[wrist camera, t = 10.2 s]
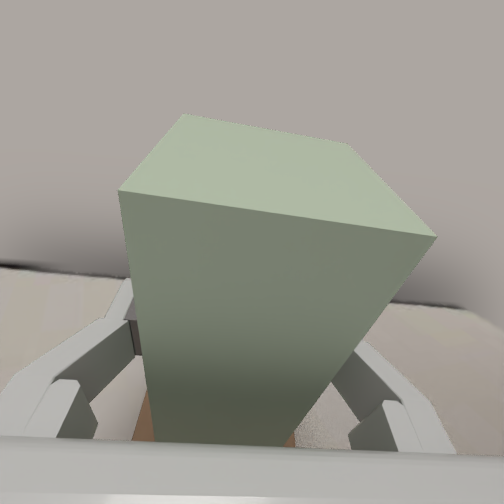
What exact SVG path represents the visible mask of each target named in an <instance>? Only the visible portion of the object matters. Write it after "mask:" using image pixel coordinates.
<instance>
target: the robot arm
mask: <svg viewBox="0 0 504 504" xmlns="http://www.w3.org/2000/svg"><path fill="white" fill-rule="evenodd" d="M135 355H139V356H142V350H141V343H140V337H139V330H138V323H137V316H136V310H135V303H134V296H133V289H132V283H131V278H126V279H125V280H124V281H123V283H122V284H121V286H120V288H119V290H118V292H117V294H116V296H115V298H114V300H113V302H112V304H111V306H110V308H109V310H108V311H107V313H106V315H105V317H104V318H98V319H96V320H95V321H93V322H92V323H90V324H89V325H87V326H86V327H84V328H83V329H81V330H80V331H78V332H77V333H75V334H74V335H72V336H71V337H69V338H68V339H66V340H65V341H63V342H62V343H60V344H59V345H57V346H56V347H54V348H53V349H51V350H50V351H48V352H47V353H45V354H44V355H42V356H41V357H39V358H38V359H36V360H35V361H33V362H32V363H30V364H29V365H27V366H26V367H24V368H23V369H21V370H20V371H18V372H17V373H15V374H14V375H13V377H12V378H11V380H10V381H9V382H8V384H7V385H6V387H5V388H4V390H3V391H2V392H1V394H0V504H504V456H494V455H469V454H457V453H456V451H455V449H454V447H453V445H452V443H451V441H450V439H449V437H448V435H447V433H446V431H445V429H444V427H443V425H442V423H441V421H440V419H439V417H438V415H437V413H436V411H435V409H434V407H433V405H432V403H431V402H430V401H429V400H428V399H427V398H426V397H425V396H424V395H423V394H422V393H421V392H420V391H419V390H418V389H417V388H415V387H414V386H413V385H412V384H411V383H410V382H409V381H408V380H407V379H406V378H405V377H404V376H403V375H402V374H401V373H400V372H399V371H398V370H397V369H396V368H394V367H393V366H392V365H391V364H390V363H389V362H388V361H387V360H386V359H385V358H384V357H383V356H382V355H381V354H380V353H379V352H378V351H377V350H376V349H375V348H373V347H372V346H371V345H370V344H369V343H368V342H364V341H363V339H362V340H361V341H360V343H359V344H358V345H357V347H356V348H355V349H354V351H353V352H352V354H351V355H350V356H349V358H348V359H347V360H346V362H345V363H344V364H343V366H342V367H341V368H340V370H339V371H338V372H337V374H336V375H335V377H334V378H333V379H332V381H331V382H332V383H333V385H334V386H335V388H336V389H337V390H338V392H339V393H340V395H341V396H342V397H343V399H344V400H345V402H346V403H347V404H348V406H349V407H350V409H351V410H352V412H353V413H354V414H355V416H356V417H357V419H358V420H359V421H360V423H359V424H358V425H357V426H356V427H355V428H353V429H352V430H351V431H350V433H349V434H348V437H349V441H350V445H351V449H352V450H346V449H322V448H297V447H273V446H248V445H224V444H199V443H175V442H150V441H125V440H100V439H93V436H94V433H95V431H96V428H97V425H98V422H97V420H96V418H95V415H94V413H93V411H92V409H91V407H90V405H89V403H90V402H91V401H92V400H93V399H94V398H95V397H96V396H97V395H98V394H99V393H100V392H101V391H102V390H103V389H104V388H105V387H106V386H107V385H108V384H109V383H110V382H111V381H112V380H113V379H114V378H115V377H116V376H117V375H118V374H119V373H120V372H121V371H122V370H123V369H124V368H125V367H126V366H127V365H128V364H129V363H130V362H131V361H132V360H133V359H134V358H135Z"/></svg>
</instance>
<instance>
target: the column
mask: <svg viewBox="0 0 504 504" xmlns="http://www.w3.org/2000/svg"><path fill="white" fill-rule="evenodd" d="M118 195H119V202H120V208H121V215H122V222H123V228H124V235H125V242H126V249H127V255H128V262H129V269H130V276H131V283H132V289H133V296H134V303H135V310H136V316H137V323H138V330H139V337H140V343H141V350H142V357H143V364H144V370H145V377H146V384H147V391H148V398H149V404H150V411H151V418H152V425H153V431H154V438H155V442H175V443H199V444H224V445H248V446H273V447H283V446H284V444H285V443H286V442H287V440H288V439H289V437H290V436H291V435H292V433H293V432H294V431H295V429H296V428H297V427H298V425H299V424H300V423H301V421H302V420H303V419H304V417H305V416H306V414H307V413H308V412H309V410H310V409H311V408H312V406H313V405H314V404H315V402H316V401H317V400H318V398H319V397H320V396H321V394H322V393H323V391H324V390H325V389H326V387H327V386H328V385H329V383H330V382H331V381H332V379H333V378H334V377H335V375H336V374H337V372H338V371H339V370H340V368H341V367H342V366H343V364H344V363H345V362H346V360H347V359H348V358H349V356H350V355H351V354H352V352H353V351H354V349H355V348H356V347H357V345H358V344H359V343H360V341H361V340H362V339H363V337H364V336H365V335H366V333H367V332H368V331H369V329H370V328H371V326H372V325H373V324H374V322H375V321H376V320H377V318H378V317H379V316H380V314H381V313H382V312H383V310H384V309H385V308H386V306H387V305H388V303H389V302H390V301H391V299H392V298H393V297H394V295H395V294H396V293H397V291H398V290H399V289H400V287H401V286H402V284H403V283H404V282H405V280H406V279H407V278H408V276H409V275H410V274H411V272H412V271H413V270H414V268H415V267H416V265H417V264H418V263H419V261H420V260H421V259H422V257H423V256H424V255H425V253H426V252H427V251H428V249H429V248H430V247H431V245H432V244H433V243H434V241H435V240H436V238H437V236H436V235H435V234H434V233H433V231H432V230H431V229H430V228H429V227H428V226H427V225H426V224H425V223H424V222H423V221H422V220H421V219H420V218H419V217H418V216H417V215H416V214H415V213H414V212H413V211H412V210H411V209H410V208H409V207H408V206H407V205H406V204H405V203H404V202H403V201H402V199H400V197H399V196H398V195H397V194H396V193H395V192H394V191H393V190H392V189H391V188H390V187H389V186H388V185H387V184H386V183H385V182H384V181H383V180H382V179H381V178H380V177H379V176H378V175H377V174H376V173H375V172H374V171H373V170H372V168H370V166H369V165H368V164H367V163H366V162H365V161H364V160H363V159H362V158H361V157H360V156H359V155H358V154H357V153H356V152H355V151H354V150H353V149H352V148H351V147H350V146H349V145H348V144H347V143H341V142H335V141H330V140H325V139H320V138H314V137H309V136H303V135H298V134H292V133H286V132H281V131H276V130H270V129H265V128H260V127H254V126H249V125H243V124H238V123H233V122H227V121H222V120H216V119H211V118H205V117H200V116H194V115H189V114H183V115H182V116H181V117H180V118H179V120H178V121H177V122H176V123H175V124H174V125H173V127H172V128H171V129H170V130H169V131H168V132H167V133H166V135H165V136H164V137H163V138H162V139H161V140H160V142H159V143H158V144H157V145H156V146H155V147H154V149H153V150H152V151H151V152H150V153H149V154H148V155H147V157H146V158H145V159H144V160H143V161H142V162H141V164H140V165H139V166H138V167H137V168H136V169H135V171H134V172H133V173H132V174H131V175H130V177H129V178H128V179H127V180H126V181H125V182H124V183H123V185H122V186H121V187H120V188H119V189H118Z"/></svg>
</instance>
